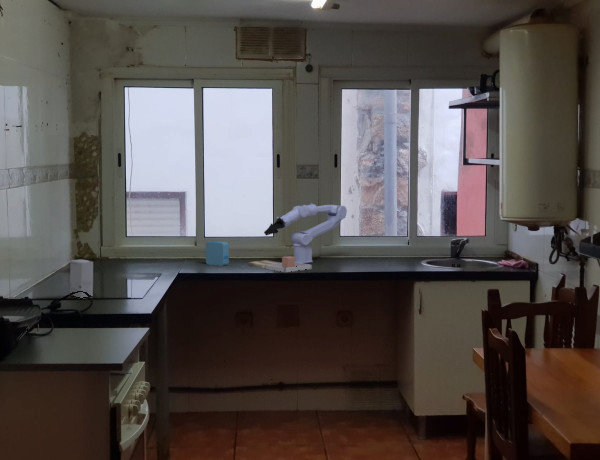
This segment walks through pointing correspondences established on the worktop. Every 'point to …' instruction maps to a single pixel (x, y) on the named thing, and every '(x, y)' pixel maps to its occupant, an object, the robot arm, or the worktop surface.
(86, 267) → the skincare box
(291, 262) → the terracotta block
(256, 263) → the board
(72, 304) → the worktop surface
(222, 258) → the data package
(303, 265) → the tray
